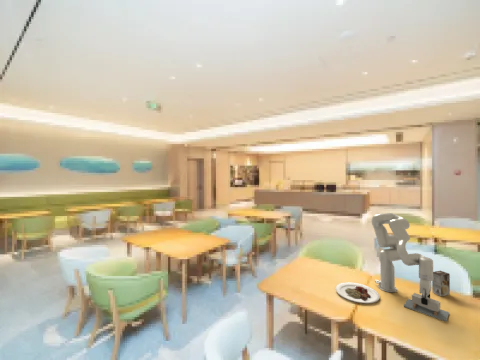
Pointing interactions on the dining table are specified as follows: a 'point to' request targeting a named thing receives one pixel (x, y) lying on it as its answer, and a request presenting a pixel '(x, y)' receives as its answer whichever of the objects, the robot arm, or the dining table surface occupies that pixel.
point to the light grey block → (431, 302)
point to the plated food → (357, 292)
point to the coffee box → (441, 283)
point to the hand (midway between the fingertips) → (425, 301)
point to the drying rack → (427, 310)
